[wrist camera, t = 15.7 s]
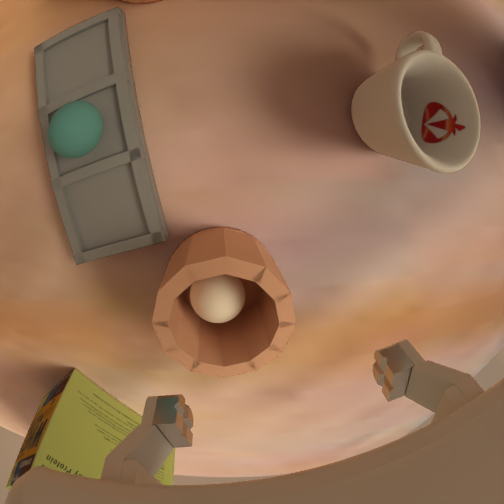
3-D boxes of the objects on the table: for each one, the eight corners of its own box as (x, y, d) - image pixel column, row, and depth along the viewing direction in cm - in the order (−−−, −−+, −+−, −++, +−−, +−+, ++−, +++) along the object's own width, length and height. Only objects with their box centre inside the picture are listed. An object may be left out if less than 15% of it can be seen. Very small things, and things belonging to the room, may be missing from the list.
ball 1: (106, 96, 16) (83, 86, 13) (116, 147, 18) (94, 146, 14) (61, 116, 16) (33, 112, 12) (70, 164, 17) (43, 169, 14)
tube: (263, 215, 22) (283, 241, 16) (281, 311, 25) (301, 359, 19) (154, 241, 21) (132, 277, 15) (186, 332, 24) (180, 385, 18)
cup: (346, 32, 17) (398, -5, 10) (421, 66, 19) (481, 51, 11) (330, 149, 21) (386, 152, 13) (409, 172, 22) (474, 187, 14)
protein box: (73, 365, 24) (23, 481, 10) (177, 435, 30) (174, 544, 15) (42, 396, 26) (3, 486, 11) (132, 455, 31) (121, 543, 16)
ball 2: (242, 255, 21) (234, 279, 18) (252, 301, 23) (247, 331, 19) (191, 263, 22) (175, 287, 18) (205, 307, 23) (192, 336, 20)
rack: (41, 52, 14) (33, 48, 13) (124, 13, 15) (119, 6, 13) (82, 258, 21) (75, 265, 20) (169, 235, 21) (166, 241, 20)
